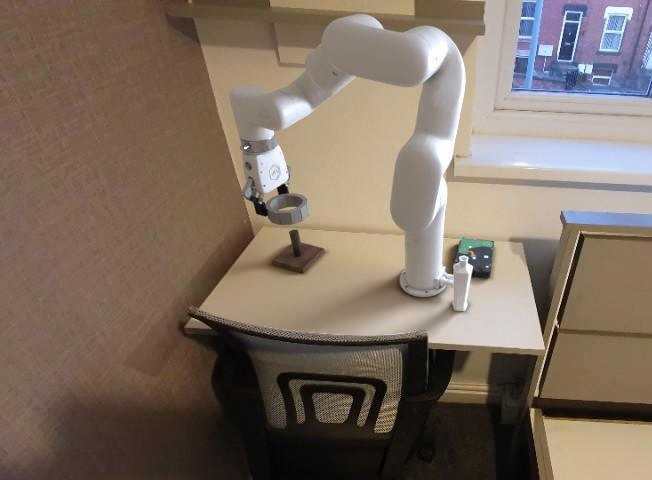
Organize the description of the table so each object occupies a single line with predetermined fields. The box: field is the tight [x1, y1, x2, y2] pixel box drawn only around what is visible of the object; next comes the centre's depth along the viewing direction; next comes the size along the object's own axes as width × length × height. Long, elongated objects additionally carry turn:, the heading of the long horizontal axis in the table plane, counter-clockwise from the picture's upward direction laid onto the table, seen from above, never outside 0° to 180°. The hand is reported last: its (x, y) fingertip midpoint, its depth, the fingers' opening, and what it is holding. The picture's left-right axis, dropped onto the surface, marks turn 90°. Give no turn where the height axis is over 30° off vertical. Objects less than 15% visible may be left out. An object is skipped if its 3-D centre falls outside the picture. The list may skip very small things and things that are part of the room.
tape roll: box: [265, 192, 311, 226], centre depth 102 cm, size 10×10×4 cm
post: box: [271, 229, 326, 274], centre depth 109 cm, size 10×10×9 cm
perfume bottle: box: [451, 255, 473, 312], centre depth 94 cm, size 5×4×15 cm
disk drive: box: [453, 236, 495, 279], centre depth 113 cm, size 10×3×15 cm
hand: (273, 206), depth 103 cm, fingers closed on tape roll, 8 cm apart
